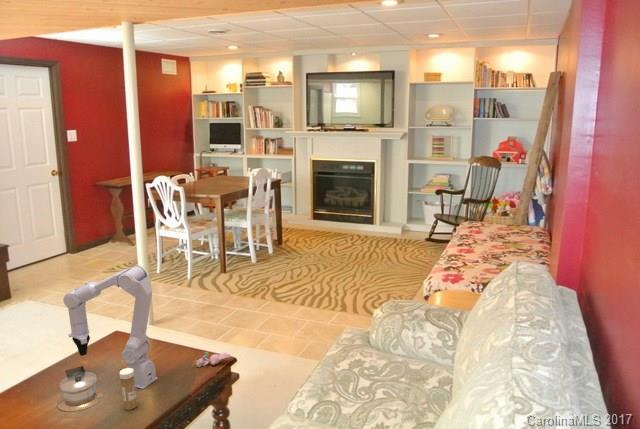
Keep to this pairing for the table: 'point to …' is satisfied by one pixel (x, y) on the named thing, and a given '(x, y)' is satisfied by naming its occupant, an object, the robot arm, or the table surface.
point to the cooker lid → (77, 380)
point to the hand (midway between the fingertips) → (83, 354)
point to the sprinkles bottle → (128, 388)
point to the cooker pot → (80, 399)
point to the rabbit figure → (213, 359)
